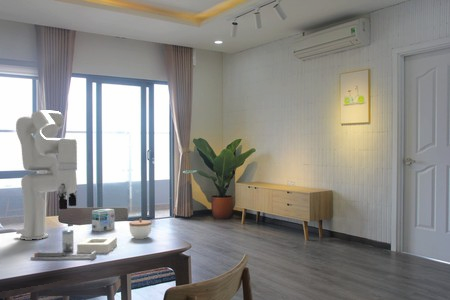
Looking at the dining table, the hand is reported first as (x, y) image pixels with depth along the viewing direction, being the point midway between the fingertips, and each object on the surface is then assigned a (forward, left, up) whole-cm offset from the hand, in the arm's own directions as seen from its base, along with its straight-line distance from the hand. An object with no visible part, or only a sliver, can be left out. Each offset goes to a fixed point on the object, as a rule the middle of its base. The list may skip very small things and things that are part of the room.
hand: (68, 207), depth 171 cm
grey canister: (0, 0, -19) cm, 19 cm away
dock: (+11, +5, -19) cm, 22 cm away
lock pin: (-4, -10, -19) cm, 22 cm away
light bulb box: (0, +48, -19) cm, 52 cm away
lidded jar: (+25, +27, -19) cm, 42 cm away
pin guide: (+2, -10, -19) cm, 21 cm away
